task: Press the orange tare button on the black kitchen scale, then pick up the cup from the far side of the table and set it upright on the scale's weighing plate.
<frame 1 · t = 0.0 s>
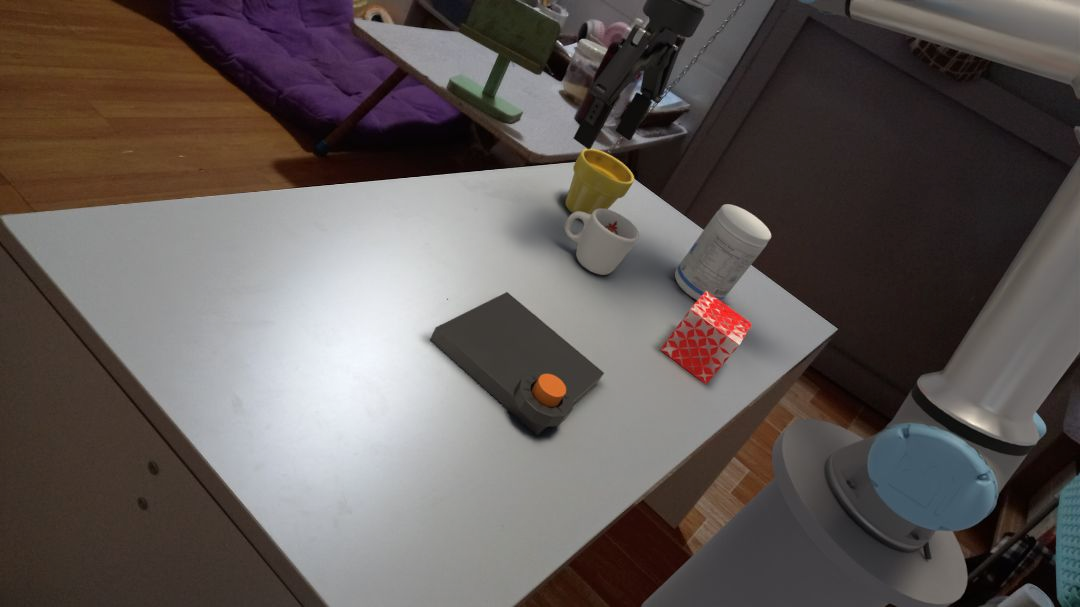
hand: (603, 139, 94), 17 cm above the table, tool pointing down, fingers open, 13 cm apart
cup: (583, 261, 101), on the table
tare button: (549, 390, 67), point 4 cm above the table, slide at 0.1 cm
scale: (517, 362, 75), on the table
supplement tub: (695, 289, 111), on the table
red patterned cube: (690, 357, 93), on the table
flower pot: (581, 212, 115), on the table
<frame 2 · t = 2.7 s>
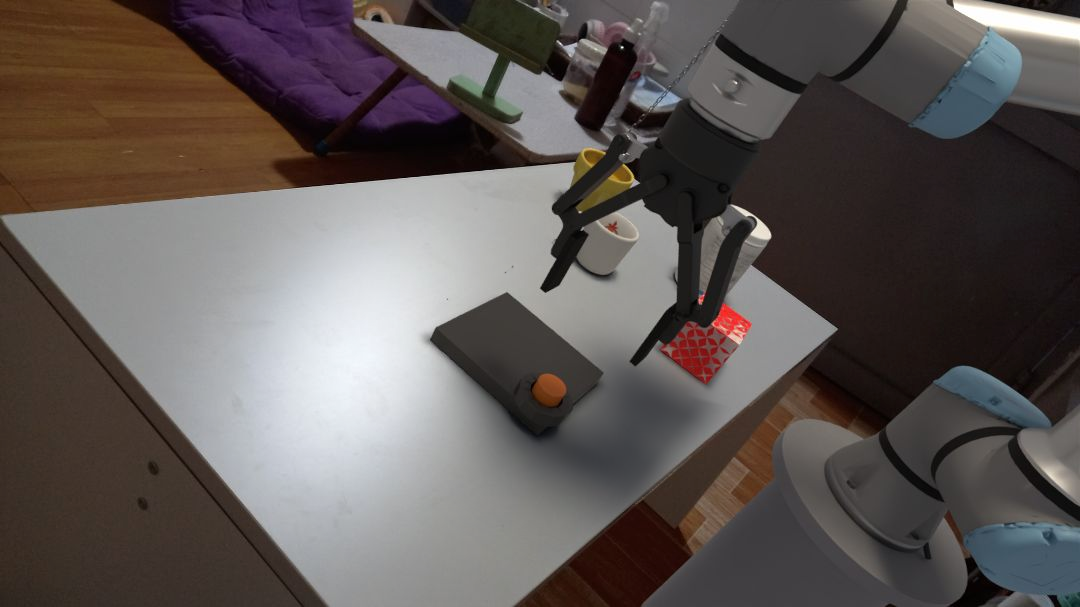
hand: (592, 322, 62), 14 cm above the table, tool pointing down, fingers open, 10 cm apart
nothing on the table moved.
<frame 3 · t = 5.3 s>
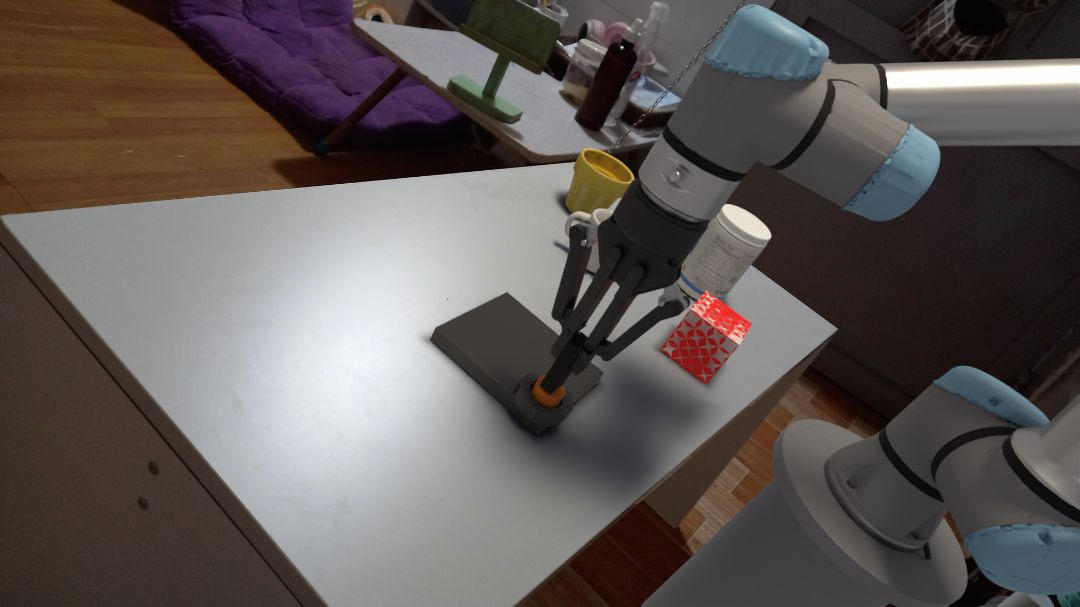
hand: (551, 384, 67), 5 cm above the table, tool pointing down, fingers closed
tare button: (548, 392, 67), point 4 cm above the table, slide at -0.1 cm, touching gripper
everything else where it was.
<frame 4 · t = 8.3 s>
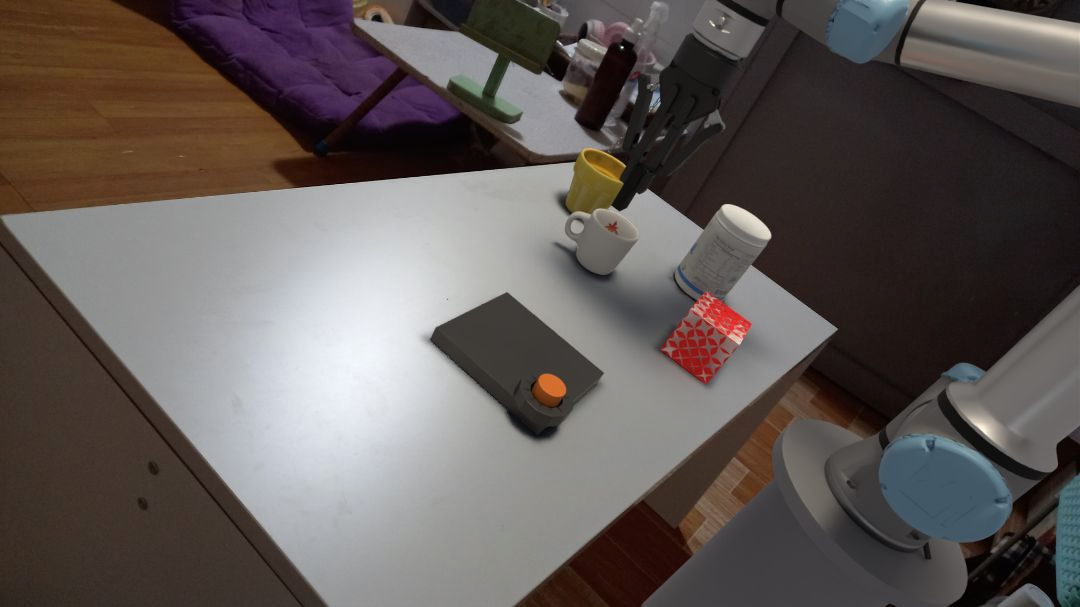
hand: (619, 206, 89), 13 cm above the table, tool pointing down, fingers closed
tare button: (549, 390, 67), point 4 cm above the table, slide at 0.1 cm
everything else where it was.
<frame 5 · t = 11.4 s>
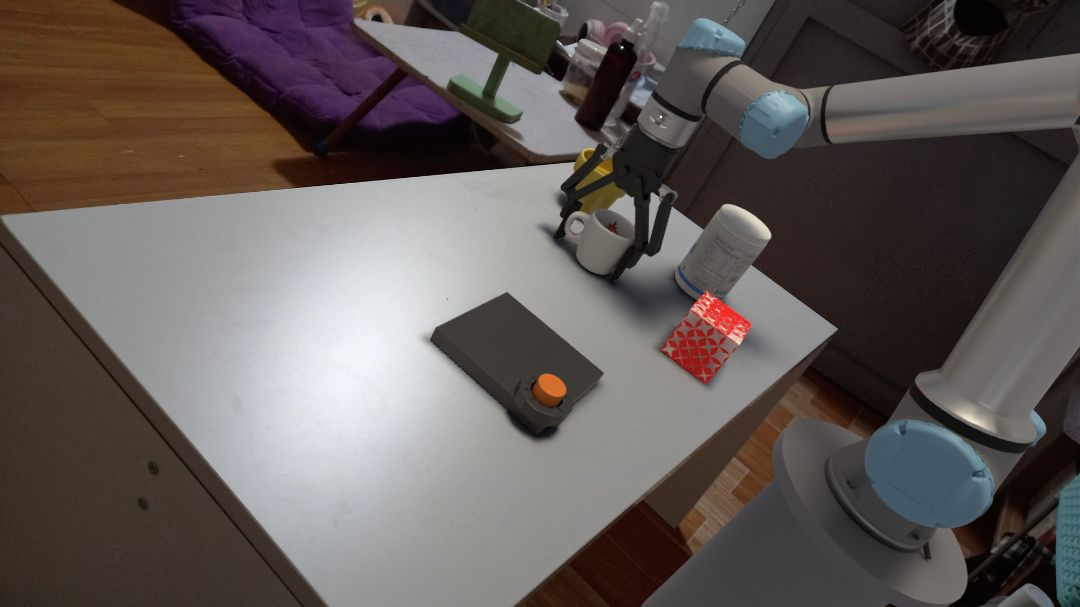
hand: (585, 258, 101), 0 cm above the table, tool pointing down, fingers closed on cup, 10 cm apart
cup: (583, 261, 101), on the table, touching gripper
everything else where it was.
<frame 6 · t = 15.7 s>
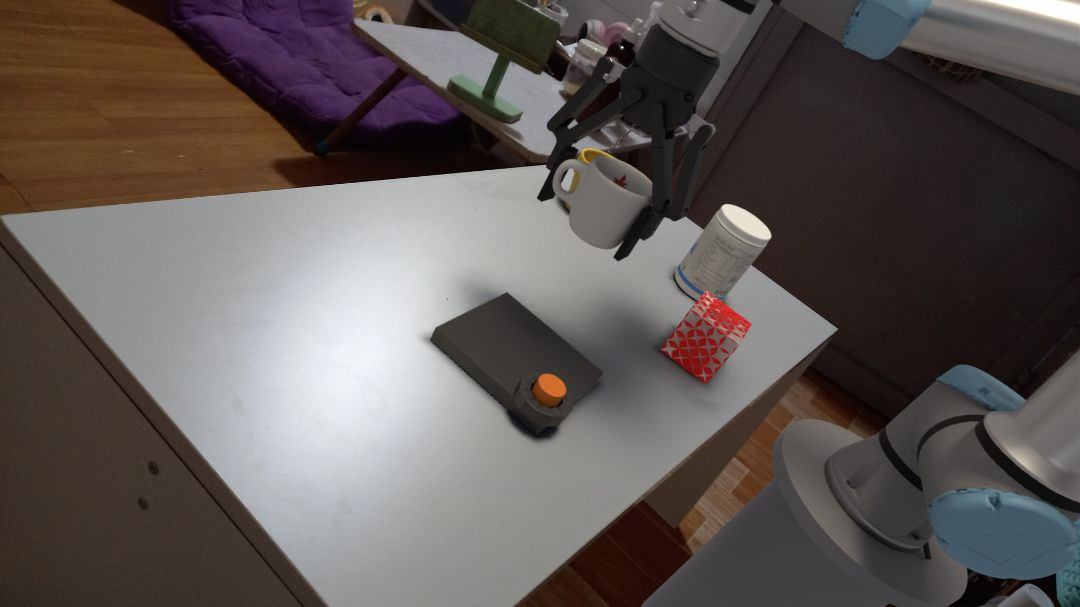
hand: (582, 226, 72), 16 cm above the table, tool pointing down, fingers closed on cup, 10 cm apart
cup: (579, 230, 73), point 15 cm above the table, touching gripper
everything else where it was.
when the fingers open (2 cm above the table, at t = 19.9 s): cup stays where it is, resting on scale.
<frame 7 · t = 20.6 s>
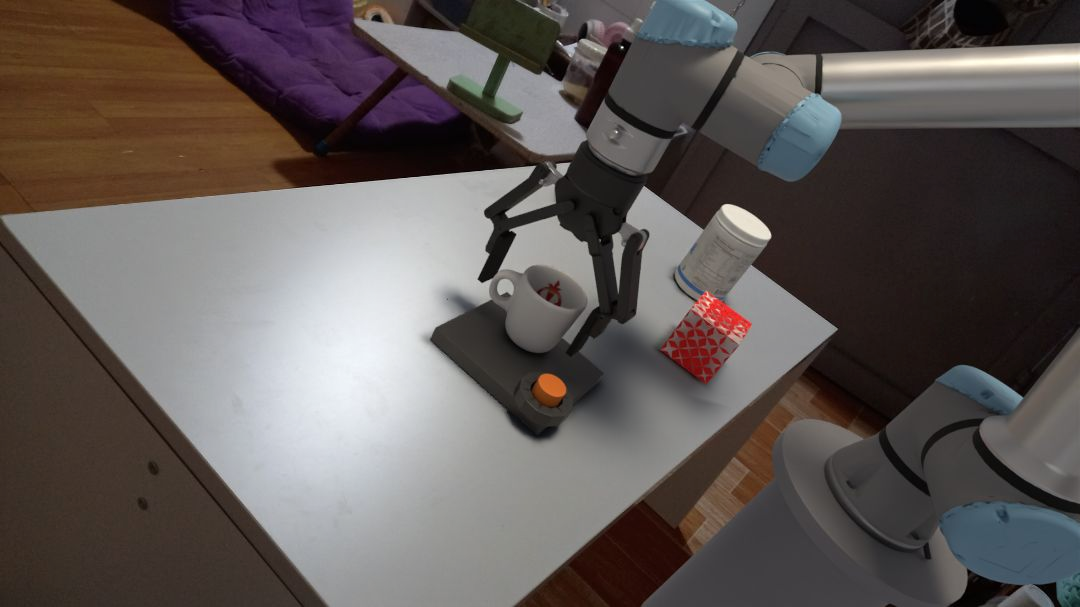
hand: (528, 314, 75), 5 cm above the table, tool pointing down, fingers open, 13 cm apart
cup: (516, 332, 76), point 2 cm above the table, touching scale
everything else where it was.
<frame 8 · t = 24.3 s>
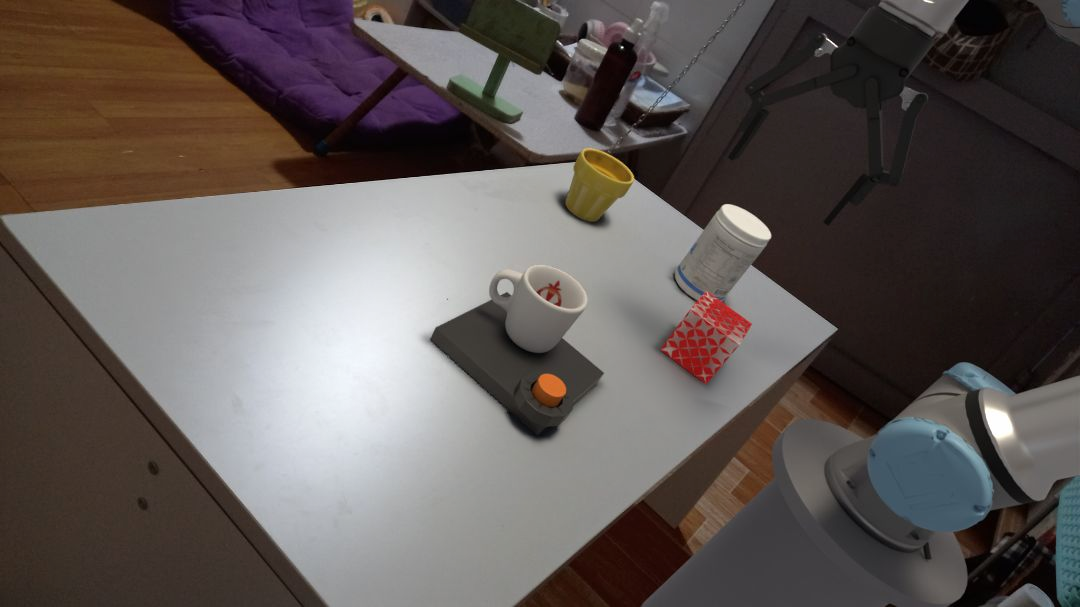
hand: (778, 189, 78), 27 cm above the table, tool pointing down, fingers open, 13 cm apart
nothing on the table moved.
at the end: tare button pushed in 0.8 cm at the most during the clip, back to where it started at the end; cup inside the target area on the scale (0.1 cm from its centre), point 1.7 cm above the scale's base; cup touching scale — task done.
